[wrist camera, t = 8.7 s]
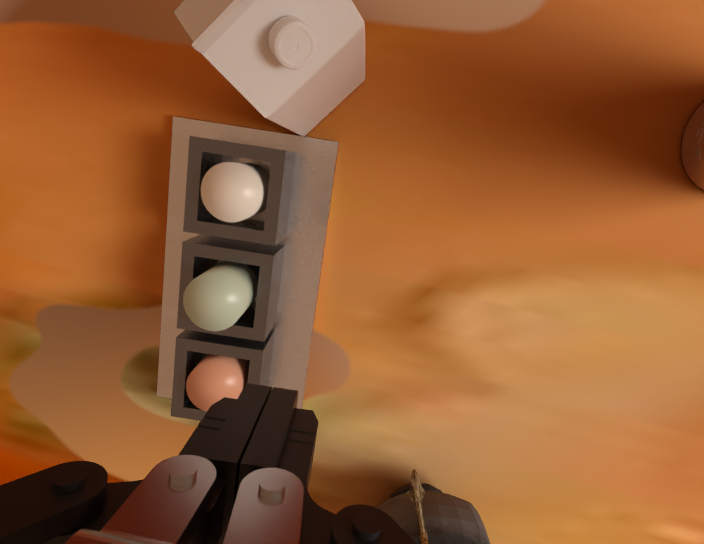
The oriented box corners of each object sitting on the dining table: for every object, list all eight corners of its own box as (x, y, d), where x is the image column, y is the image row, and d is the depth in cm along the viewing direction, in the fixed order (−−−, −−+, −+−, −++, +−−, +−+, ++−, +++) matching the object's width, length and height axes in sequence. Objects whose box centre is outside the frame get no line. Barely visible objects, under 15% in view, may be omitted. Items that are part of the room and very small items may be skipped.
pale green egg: (260, 264, 38) (245, 278, 33) (255, 314, 39) (239, 335, 34) (208, 256, 38) (185, 269, 33) (204, 306, 39) (181, 326, 34)
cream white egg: (275, 167, 38) (262, 166, 33) (270, 219, 39) (256, 226, 34) (223, 158, 38) (202, 157, 33) (219, 211, 39) (198, 217, 34)
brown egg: (256, 344, 42) (241, 368, 37) (251, 388, 43) (236, 416, 38) (208, 337, 42) (187, 359, 37) (205, 381, 43) (184, 408, 38)
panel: (338, 142, 39) (334, 138, 33) (301, 412, 45) (291, 449, 39) (177, 117, 39) (144, 108, 33) (161, 391, 45) (130, 424, 39)
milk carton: (246, 71, 38) (134, -20, 20) (309, 9, 37) (251, -150, 19) (303, 137, 39) (247, 110, 21) (366, 79, 38) (366, -5, 20)
